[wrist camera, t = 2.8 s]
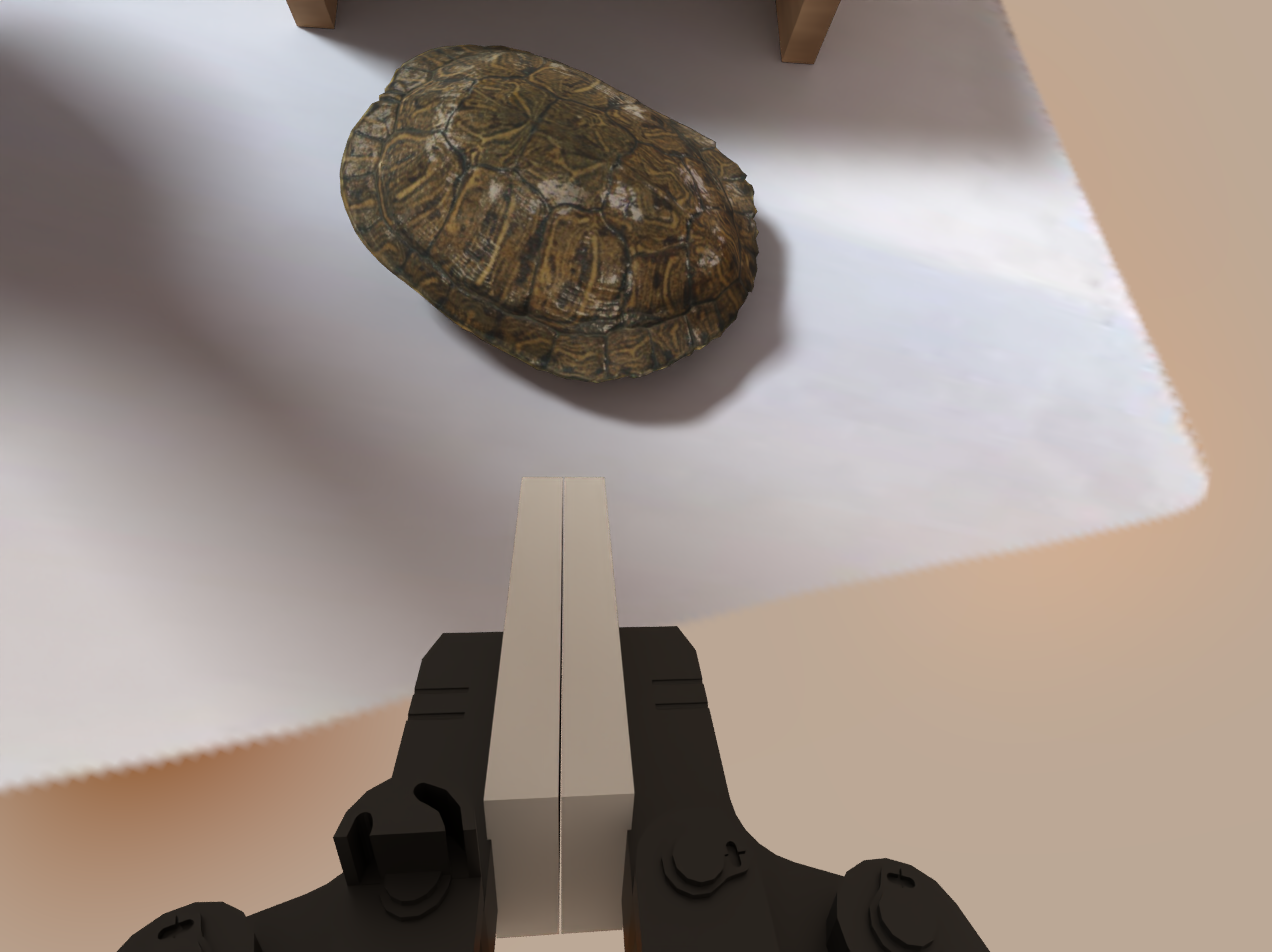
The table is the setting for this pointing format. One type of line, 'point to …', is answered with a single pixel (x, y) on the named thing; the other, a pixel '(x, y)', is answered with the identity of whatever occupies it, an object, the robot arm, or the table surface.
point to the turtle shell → (551, 212)
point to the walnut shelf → (799, 5)
